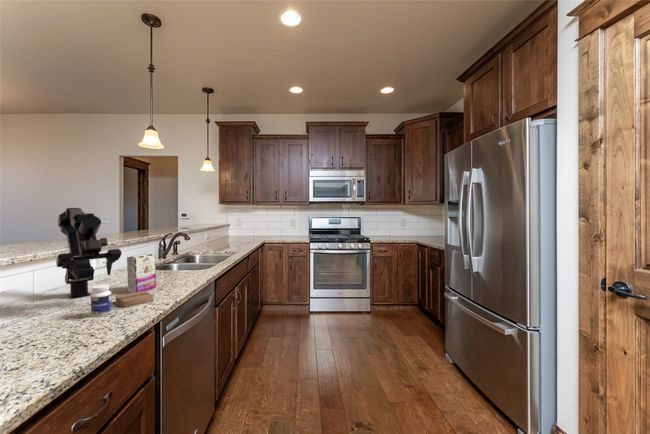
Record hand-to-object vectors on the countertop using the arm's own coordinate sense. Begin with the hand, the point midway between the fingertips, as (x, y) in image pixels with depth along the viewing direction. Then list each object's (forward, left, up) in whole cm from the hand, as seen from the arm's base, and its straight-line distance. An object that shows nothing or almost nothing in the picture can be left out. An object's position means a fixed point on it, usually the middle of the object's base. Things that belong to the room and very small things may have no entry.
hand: (94, 277), depth 105 cm
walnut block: (+3, +12, -12) cm, 17 cm away
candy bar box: (-13, +20, -12) cm, 27 cm away
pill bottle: (+9, 0, -12) cm, 15 cm away
